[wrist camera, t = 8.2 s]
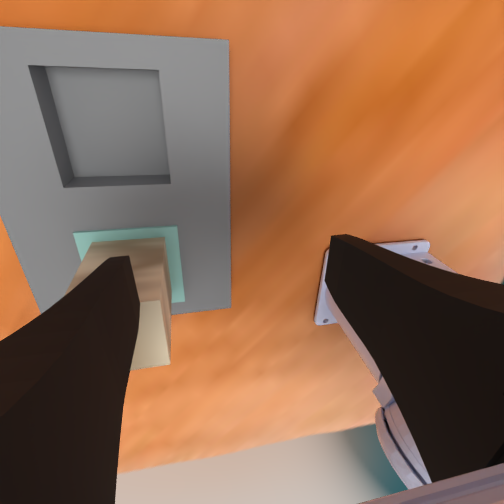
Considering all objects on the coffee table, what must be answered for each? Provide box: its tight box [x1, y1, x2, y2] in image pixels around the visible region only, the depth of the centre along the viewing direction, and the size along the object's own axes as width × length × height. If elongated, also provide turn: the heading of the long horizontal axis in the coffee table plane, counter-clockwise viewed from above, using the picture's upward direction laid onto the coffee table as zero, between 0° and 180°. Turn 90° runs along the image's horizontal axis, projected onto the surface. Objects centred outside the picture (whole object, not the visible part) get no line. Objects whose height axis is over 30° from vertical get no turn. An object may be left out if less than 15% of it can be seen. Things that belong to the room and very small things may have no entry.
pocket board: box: [0, 26, 231, 315], centre depth 18 cm, size 12×16×3 cm
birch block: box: [64, 237, 172, 370], centre depth 16 cm, size 4×4×6 cm
